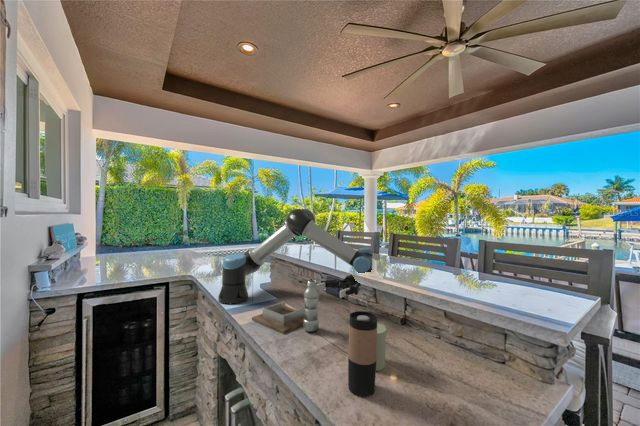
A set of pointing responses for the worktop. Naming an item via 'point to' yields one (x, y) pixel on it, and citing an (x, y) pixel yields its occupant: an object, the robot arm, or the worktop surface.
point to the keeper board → (279, 327)
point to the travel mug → (362, 353)
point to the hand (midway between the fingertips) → (327, 291)
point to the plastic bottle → (311, 307)
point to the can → (380, 347)
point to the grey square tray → (273, 314)
